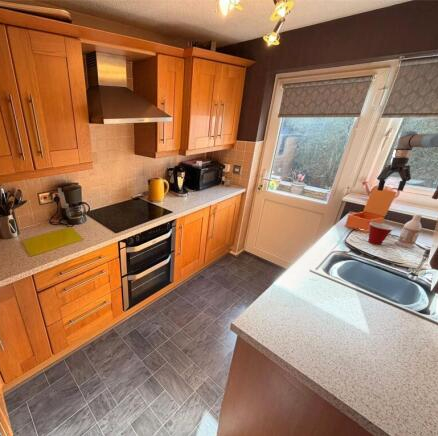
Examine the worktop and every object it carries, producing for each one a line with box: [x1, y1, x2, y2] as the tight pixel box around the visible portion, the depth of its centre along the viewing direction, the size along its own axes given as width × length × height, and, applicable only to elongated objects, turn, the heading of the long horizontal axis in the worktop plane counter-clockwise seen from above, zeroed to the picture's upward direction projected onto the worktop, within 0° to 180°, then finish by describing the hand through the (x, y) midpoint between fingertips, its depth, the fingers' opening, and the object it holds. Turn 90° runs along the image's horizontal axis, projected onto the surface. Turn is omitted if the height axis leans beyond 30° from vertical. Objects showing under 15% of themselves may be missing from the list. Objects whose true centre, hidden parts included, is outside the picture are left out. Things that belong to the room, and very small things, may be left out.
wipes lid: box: [362, 187, 398, 218], centre depth 162 cm, size 17×13×1 cm
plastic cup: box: [368, 223, 394, 246], centre depth 140 cm, size 11×11×12 cm
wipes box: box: [344, 211, 385, 233], centre depth 163 cm, size 17×13×9 cm
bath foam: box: [396, 213, 423, 249], centre depth 136 cm, size 7×7×20 cm
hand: (389, 190), depth 151 cm, fingers open, 13 cm apart
